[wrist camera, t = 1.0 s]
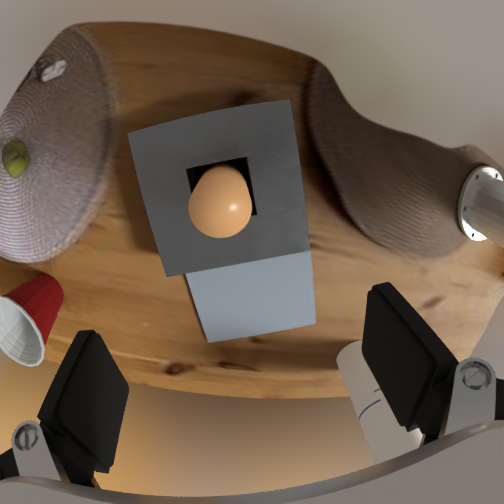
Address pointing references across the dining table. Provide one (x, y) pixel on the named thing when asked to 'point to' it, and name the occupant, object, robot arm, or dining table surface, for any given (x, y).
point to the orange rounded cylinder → (220, 201)
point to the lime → (15, 158)
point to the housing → (216, 150)
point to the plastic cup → (29, 318)
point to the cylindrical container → (374, 408)
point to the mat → (255, 297)
